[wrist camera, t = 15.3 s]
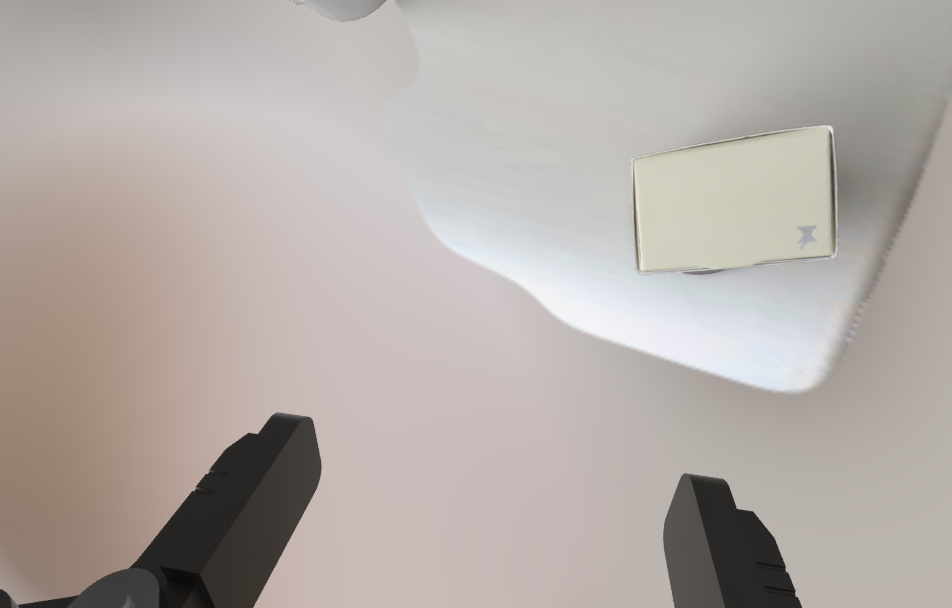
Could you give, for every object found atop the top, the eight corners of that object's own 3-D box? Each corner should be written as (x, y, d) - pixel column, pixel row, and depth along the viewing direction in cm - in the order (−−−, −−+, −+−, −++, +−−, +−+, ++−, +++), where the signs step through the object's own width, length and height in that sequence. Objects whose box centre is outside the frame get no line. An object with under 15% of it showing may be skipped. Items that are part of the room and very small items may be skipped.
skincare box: (761, 166, 26) (850, 116, 14) (764, 247, 26) (852, 260, 15) (635, 184, 28) (626, 152, 17) (640, 258, 29) (635, 277, 17)
